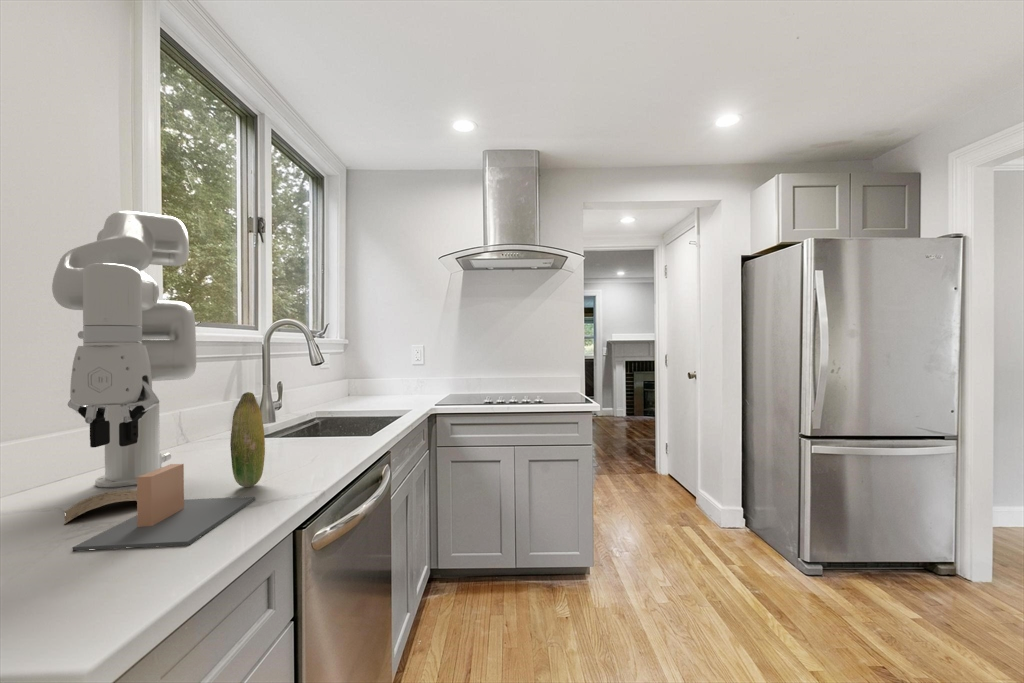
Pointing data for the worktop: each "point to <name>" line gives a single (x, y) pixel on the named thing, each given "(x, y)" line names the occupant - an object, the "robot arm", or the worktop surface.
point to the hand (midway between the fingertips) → (114, 444)
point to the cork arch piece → (99, 502)
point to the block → (160, 494)
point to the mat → (169, 526)
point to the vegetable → (247, 441)
